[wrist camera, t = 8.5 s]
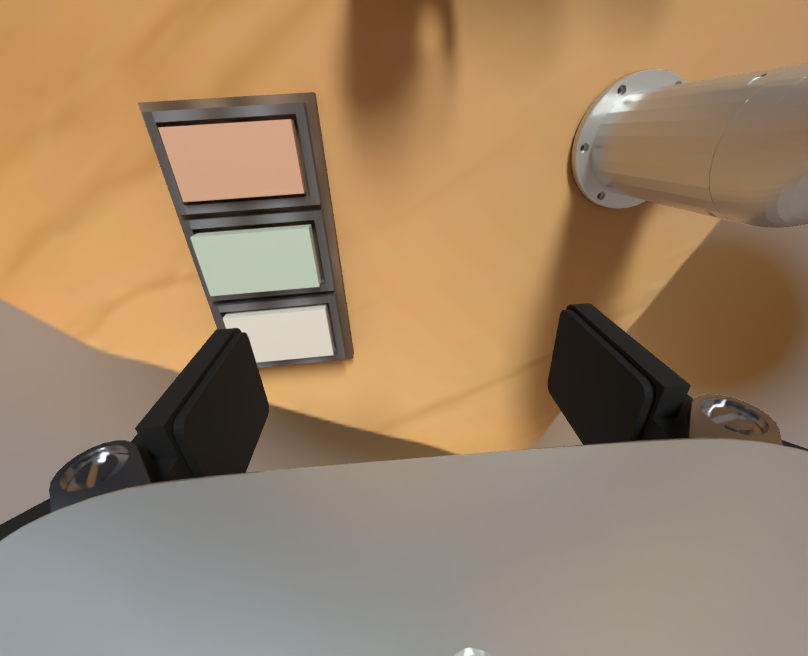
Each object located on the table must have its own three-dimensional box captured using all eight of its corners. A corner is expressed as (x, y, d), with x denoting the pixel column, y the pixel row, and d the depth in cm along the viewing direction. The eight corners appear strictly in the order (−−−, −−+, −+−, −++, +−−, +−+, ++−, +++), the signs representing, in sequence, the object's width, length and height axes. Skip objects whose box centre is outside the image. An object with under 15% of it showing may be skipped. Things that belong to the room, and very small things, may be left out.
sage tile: (310, 224, 35) (308, 228, 34) (321, 281, 38) (319, 286, 37) (197, 233, 35) (190, 237, 34) (216, 290, 38) (210, 296, 36)
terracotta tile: (293, 119, 32) (290, 119, 31) (306, 190, 35) (304, 193, 33) (167, 127, 31) (157, 127, 30) (190, 199, 34) (183, 202, 33)
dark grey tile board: (315, 94, 33) (311, 90, 30) (353, 351, 46) (352, 364, 44) (147, 103, 32) (127, 101, 30) (235, 362, 46) (227, 376, 43)
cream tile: (326, 303, 41) (325, 309, 39) (334, 348, 43) (333, 355, 42) (227, 311, 40) (222, 318, 39) (242, 356, 43) (238, 364, 42)
